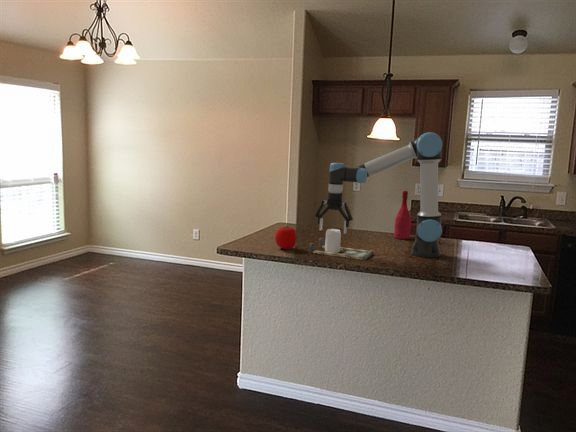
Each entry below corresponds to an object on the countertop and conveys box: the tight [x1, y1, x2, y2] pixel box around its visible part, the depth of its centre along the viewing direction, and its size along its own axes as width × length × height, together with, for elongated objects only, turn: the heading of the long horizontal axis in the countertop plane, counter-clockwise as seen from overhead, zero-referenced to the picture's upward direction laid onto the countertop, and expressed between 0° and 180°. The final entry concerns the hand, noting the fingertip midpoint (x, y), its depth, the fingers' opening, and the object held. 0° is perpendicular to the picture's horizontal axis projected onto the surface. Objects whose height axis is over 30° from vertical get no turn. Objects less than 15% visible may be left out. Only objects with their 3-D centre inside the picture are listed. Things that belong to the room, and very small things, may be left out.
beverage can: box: [324, 228, 342, 253], centre depth 251 cm, size 8×8×12 cm
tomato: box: [274, 225, 297, 250], centre depth 255 cm, size 12×12×13 cm
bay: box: [309, 237, 374, 261], centre depth 250 cm, size 30×17×5 cm, turn 67°
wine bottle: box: [393, 190, 412, 240], centre depth 292 cm, size 10×10×30 cm
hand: (332, 231), depth 250 cm, fingers open, 13 cm apart
